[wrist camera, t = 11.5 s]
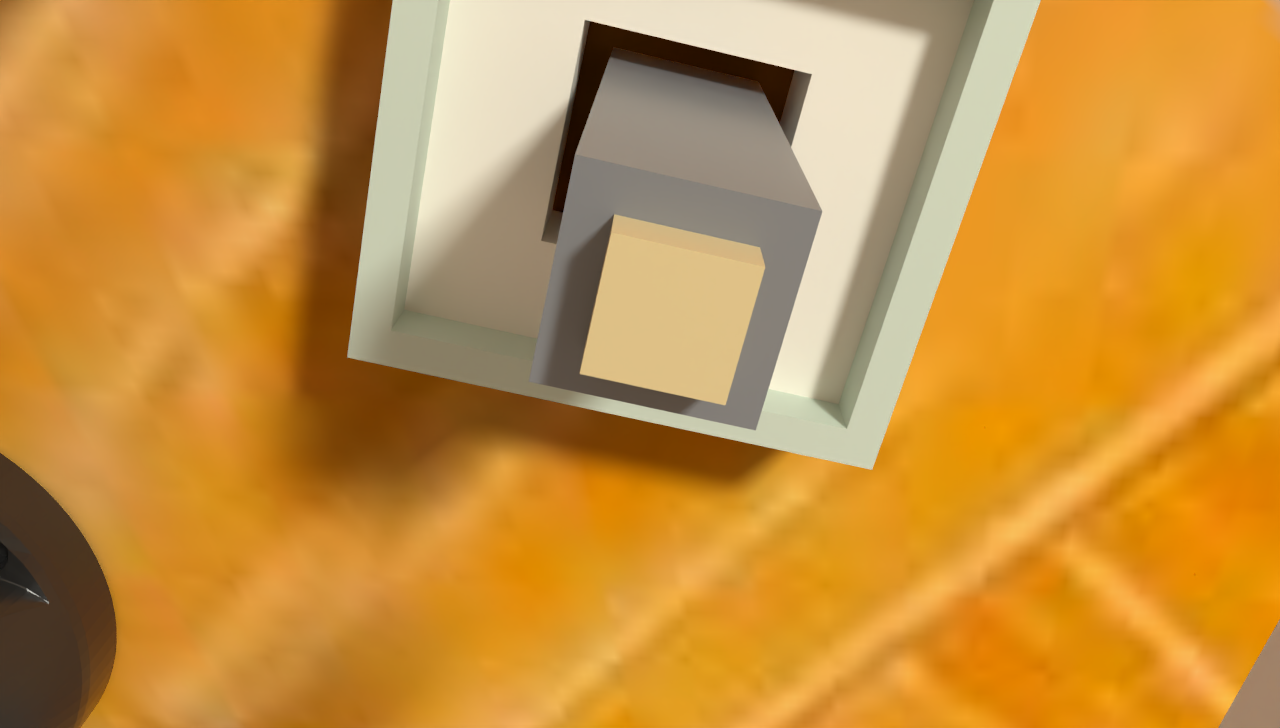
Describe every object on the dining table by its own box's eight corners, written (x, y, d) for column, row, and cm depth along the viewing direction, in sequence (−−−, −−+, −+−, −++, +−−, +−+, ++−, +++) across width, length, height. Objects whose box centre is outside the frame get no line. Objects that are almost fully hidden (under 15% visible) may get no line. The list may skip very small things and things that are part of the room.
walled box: (388, 297, 32) (347, 357, 27) (456, -186, 26) (418, -201, 22) (845, 396, 33) (872, 469, 28) (996, -51, 27) (1055, -41, 23)
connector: (583, 190, 30) (521, 407, 17) (613, 47, 29) (569, 169, 16) (720, 221, 30) (760, 458, 18) (758, 81, 29) (831, 229, 16)
